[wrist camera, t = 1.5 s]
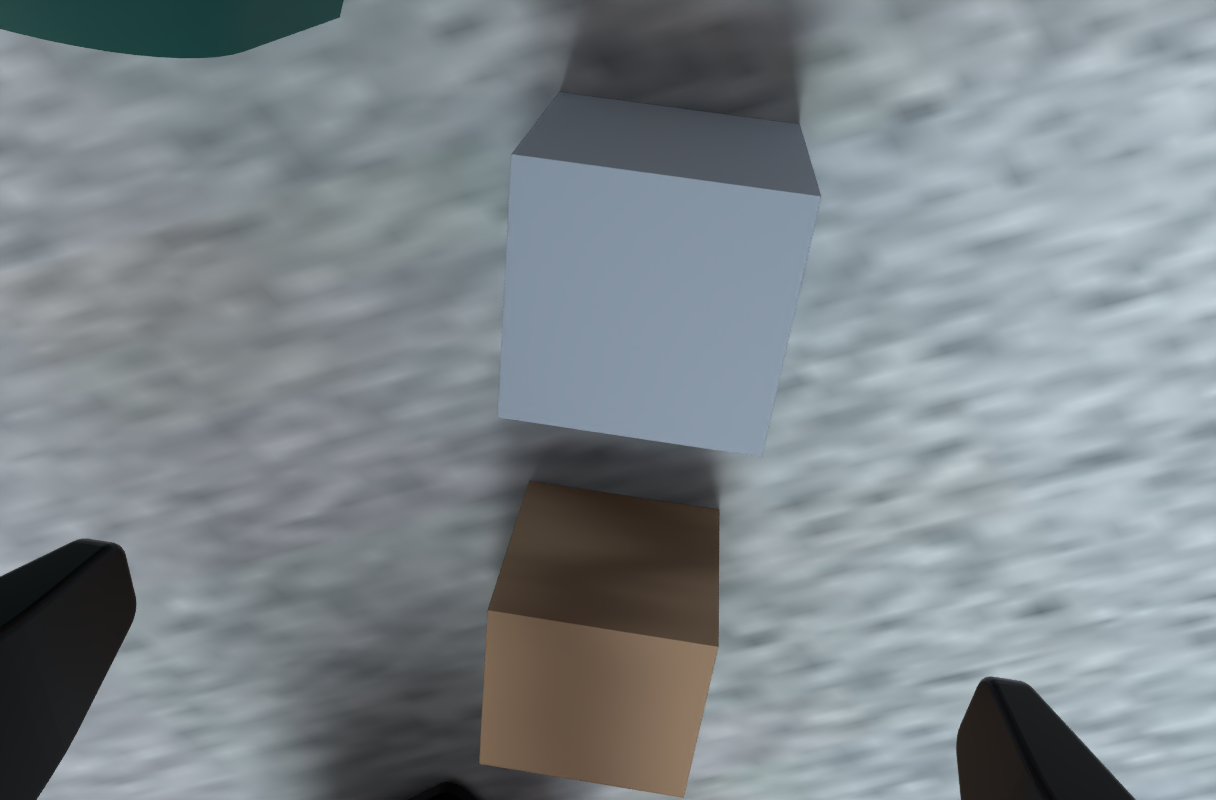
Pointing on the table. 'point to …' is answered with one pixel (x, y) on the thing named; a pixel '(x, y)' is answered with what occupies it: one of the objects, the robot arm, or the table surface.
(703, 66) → the table surface
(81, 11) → the bracket
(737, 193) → the blue cube
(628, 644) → the walnut cube
